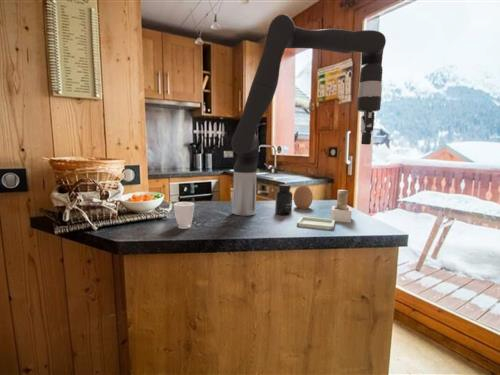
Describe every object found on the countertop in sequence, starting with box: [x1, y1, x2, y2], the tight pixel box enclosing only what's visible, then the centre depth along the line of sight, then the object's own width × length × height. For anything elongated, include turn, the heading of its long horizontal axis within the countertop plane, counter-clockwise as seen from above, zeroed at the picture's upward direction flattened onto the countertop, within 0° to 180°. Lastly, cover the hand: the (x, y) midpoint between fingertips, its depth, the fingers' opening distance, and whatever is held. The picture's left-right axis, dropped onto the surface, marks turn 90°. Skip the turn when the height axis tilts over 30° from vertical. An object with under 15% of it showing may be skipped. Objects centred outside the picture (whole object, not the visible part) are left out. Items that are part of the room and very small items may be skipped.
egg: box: [292, 183, 314, 210], centre depth 129 cm, size 8×8×11 cm
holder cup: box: [330, 205, 353, 223], centre depth 111 cm, size 7×7×5 cm
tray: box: [296, 216, 336, 231], centre depth 103 cm, size 12×10×2 cm
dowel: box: [336, 189, 349, 210], centre depth 110 cm, size 4×4×11 cm
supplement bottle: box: [274, 183, 293, 216], centre depth 121 cm, size 7×7×12 cm
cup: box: [172, 201, 196, 230], centre depth 101 cm, size 7×10×8 cm
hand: (365, 144), depth 103 cm, fingers open, 8 cm apart
